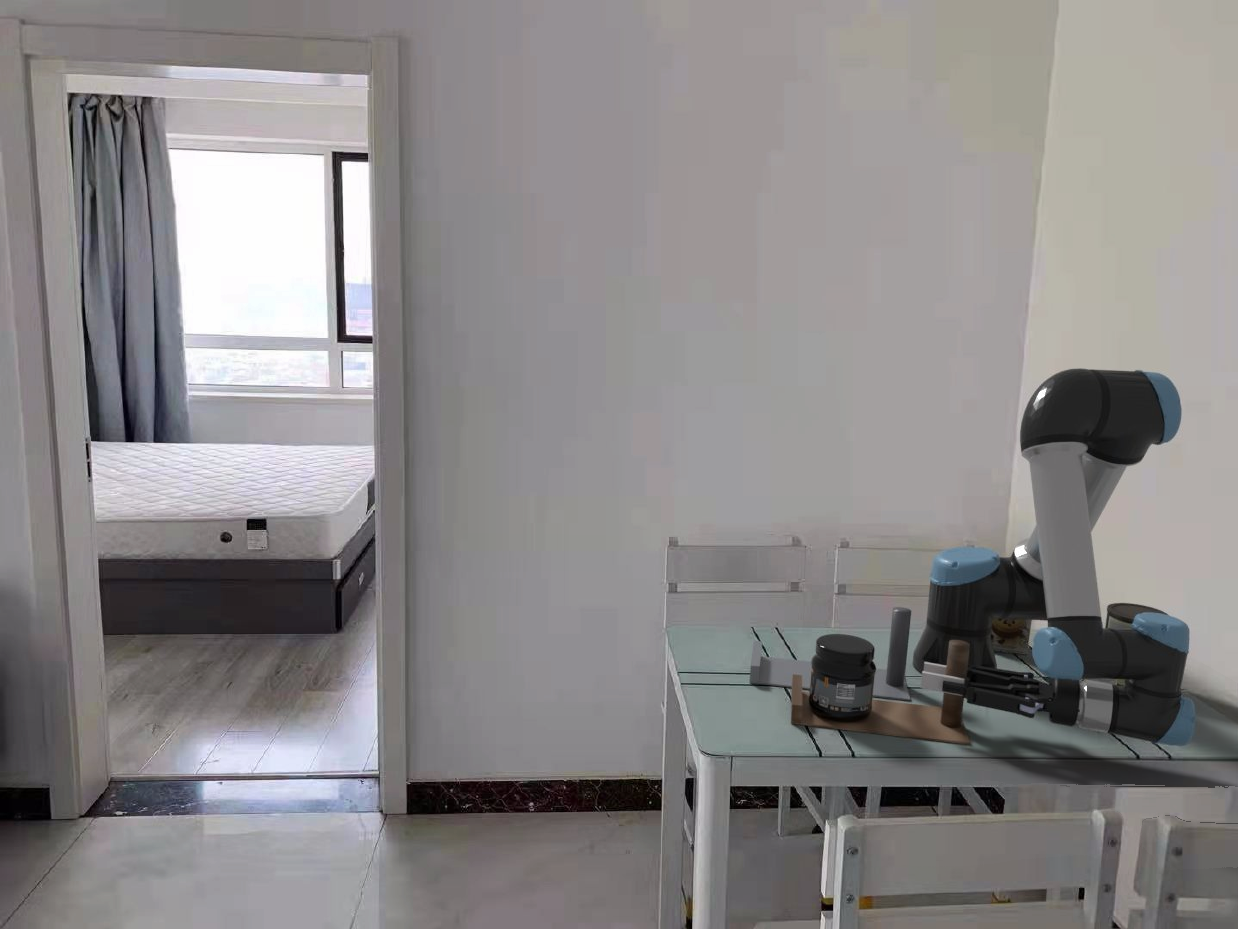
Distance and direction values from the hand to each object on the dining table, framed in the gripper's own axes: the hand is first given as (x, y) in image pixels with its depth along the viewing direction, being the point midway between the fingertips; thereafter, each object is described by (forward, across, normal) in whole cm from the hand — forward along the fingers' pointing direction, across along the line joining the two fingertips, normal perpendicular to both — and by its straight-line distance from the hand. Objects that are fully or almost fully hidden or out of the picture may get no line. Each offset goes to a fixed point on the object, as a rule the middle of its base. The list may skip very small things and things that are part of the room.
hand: (922, 674), depth 156 cm
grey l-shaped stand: (+17, +11, -8) cm, 22 cm away
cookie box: (-13, +45, -8) cm, 47 cm away
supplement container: (+13, -3, -8) cm, 15 cm away
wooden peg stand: (+7, -2, -8) cm, 11 cm away
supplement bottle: (-29, +22, -8) cm, 37 cm away
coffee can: (-35, +36, -8) cm, 51 cm away
